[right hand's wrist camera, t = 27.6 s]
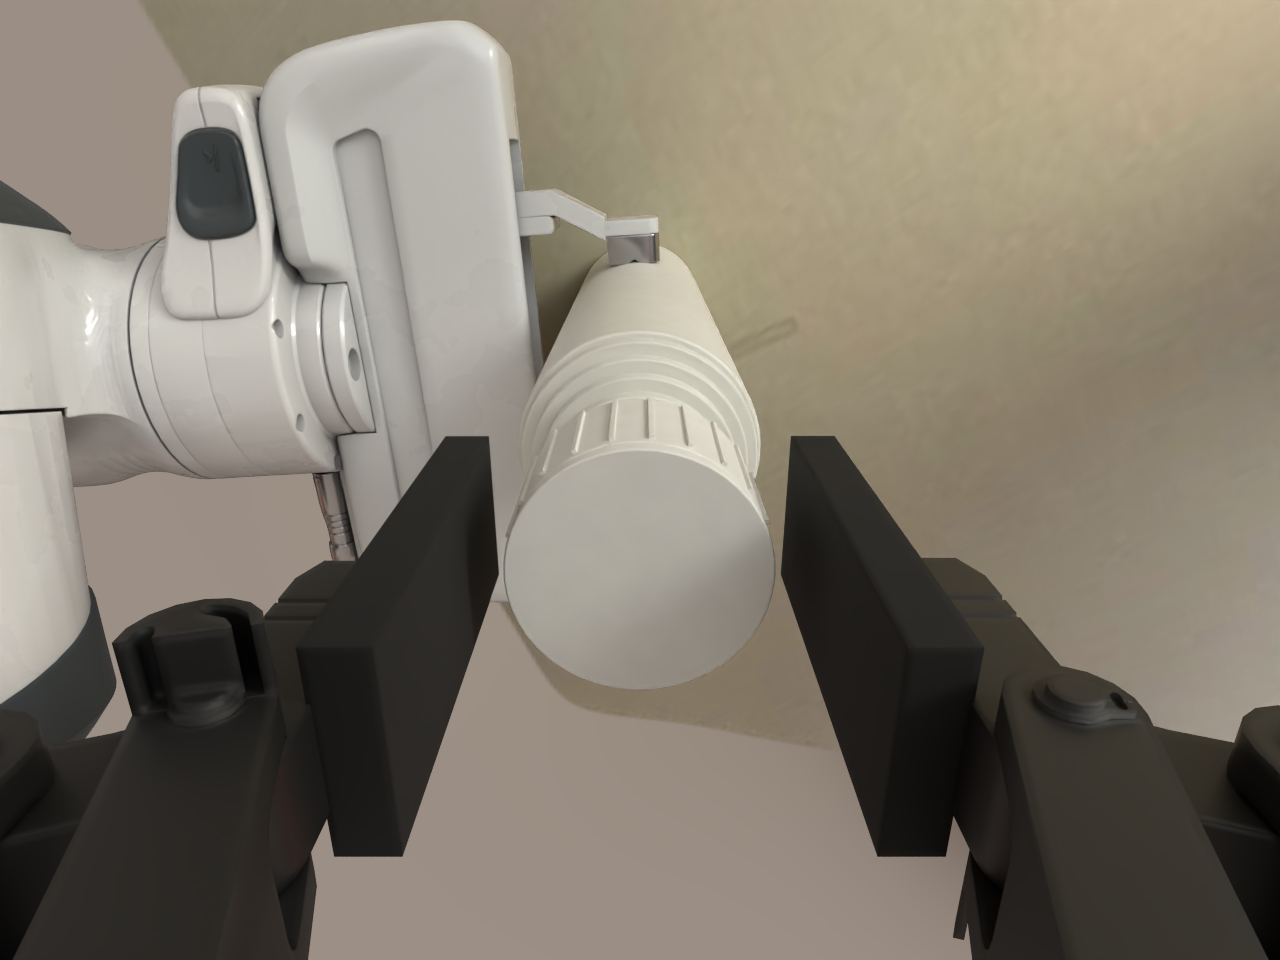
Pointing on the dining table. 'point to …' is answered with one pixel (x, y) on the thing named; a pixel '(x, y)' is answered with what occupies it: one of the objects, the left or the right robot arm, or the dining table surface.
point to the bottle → (639, 356)
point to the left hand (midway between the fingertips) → (664, 330)
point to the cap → (639, 547)
